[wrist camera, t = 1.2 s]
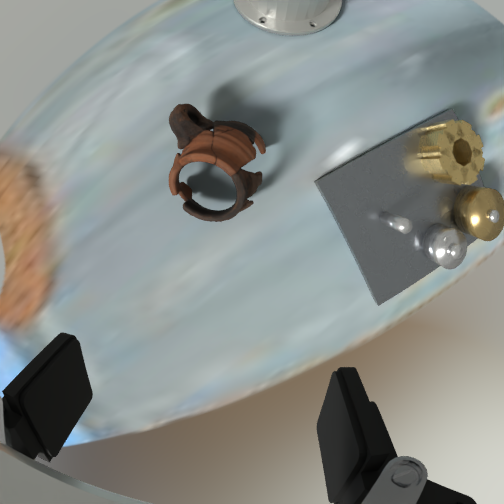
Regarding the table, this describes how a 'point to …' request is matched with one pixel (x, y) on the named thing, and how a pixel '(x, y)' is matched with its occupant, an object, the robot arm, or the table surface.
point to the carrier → (407, 213)
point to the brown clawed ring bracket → (214, 157)
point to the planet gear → (452, 152)
